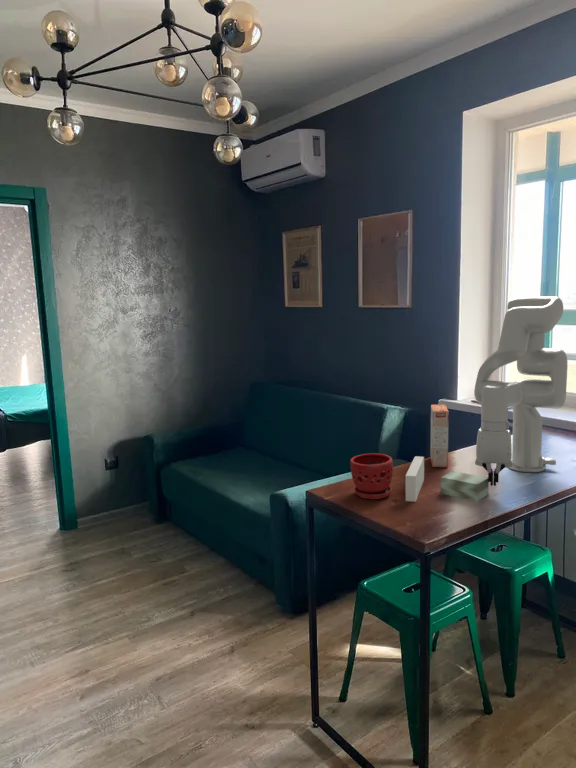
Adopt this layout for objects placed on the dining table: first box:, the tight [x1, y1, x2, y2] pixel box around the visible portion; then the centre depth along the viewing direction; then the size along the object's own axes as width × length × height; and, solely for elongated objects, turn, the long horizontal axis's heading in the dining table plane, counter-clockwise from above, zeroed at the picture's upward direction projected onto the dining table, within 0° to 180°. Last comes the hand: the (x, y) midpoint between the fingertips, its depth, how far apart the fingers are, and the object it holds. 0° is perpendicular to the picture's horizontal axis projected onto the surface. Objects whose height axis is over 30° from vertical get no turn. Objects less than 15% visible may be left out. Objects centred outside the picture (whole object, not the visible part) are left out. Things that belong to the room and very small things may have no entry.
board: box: [405, 455, 425, 503], centre depth 182 cm, size 3×22×8 cm, turn 160°
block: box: [440, 470, 490, 502], centre depth 177 cm, size 12×8×6 cm, turn 48°
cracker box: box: [429, 404, 450, 468], centre depth 211 cm, size 14×6×21 cm, turn 168°
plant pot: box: [349, 452, 394, 500], centre depth 179 cm, size 13×13×12 cm
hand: (493, 484), depth 174 cm, fingers closed
